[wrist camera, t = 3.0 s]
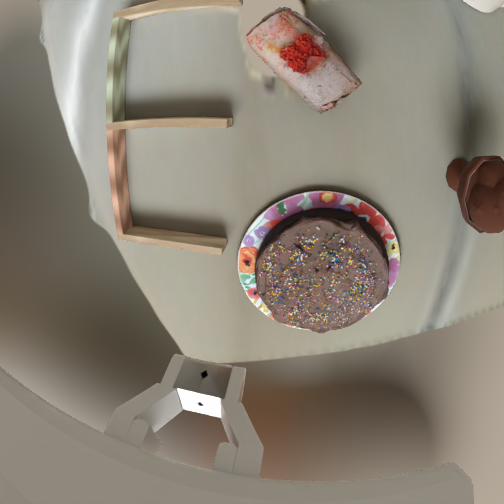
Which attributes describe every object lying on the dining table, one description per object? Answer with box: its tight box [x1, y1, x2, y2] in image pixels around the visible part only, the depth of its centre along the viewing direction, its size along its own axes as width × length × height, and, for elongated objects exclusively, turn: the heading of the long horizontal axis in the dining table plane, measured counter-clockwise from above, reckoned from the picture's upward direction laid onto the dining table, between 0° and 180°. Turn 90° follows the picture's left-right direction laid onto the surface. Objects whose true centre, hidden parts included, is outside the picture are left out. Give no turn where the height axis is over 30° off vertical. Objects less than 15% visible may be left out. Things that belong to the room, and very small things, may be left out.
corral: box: [106, 0, 243, 255], centre depth 34 cm, size 40×19×4 cm, turn 176°
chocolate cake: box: [237, 189, 401, 333], centre depth 42 cm, size 28×28×7 cm
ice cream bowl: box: [446, 156, 504, 233], centre depth 26 cm, size 11×11×15 cm
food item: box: [246, 7, 362, 113], centre depth 25 cm, size 14×8×10 cm, turn 46°
